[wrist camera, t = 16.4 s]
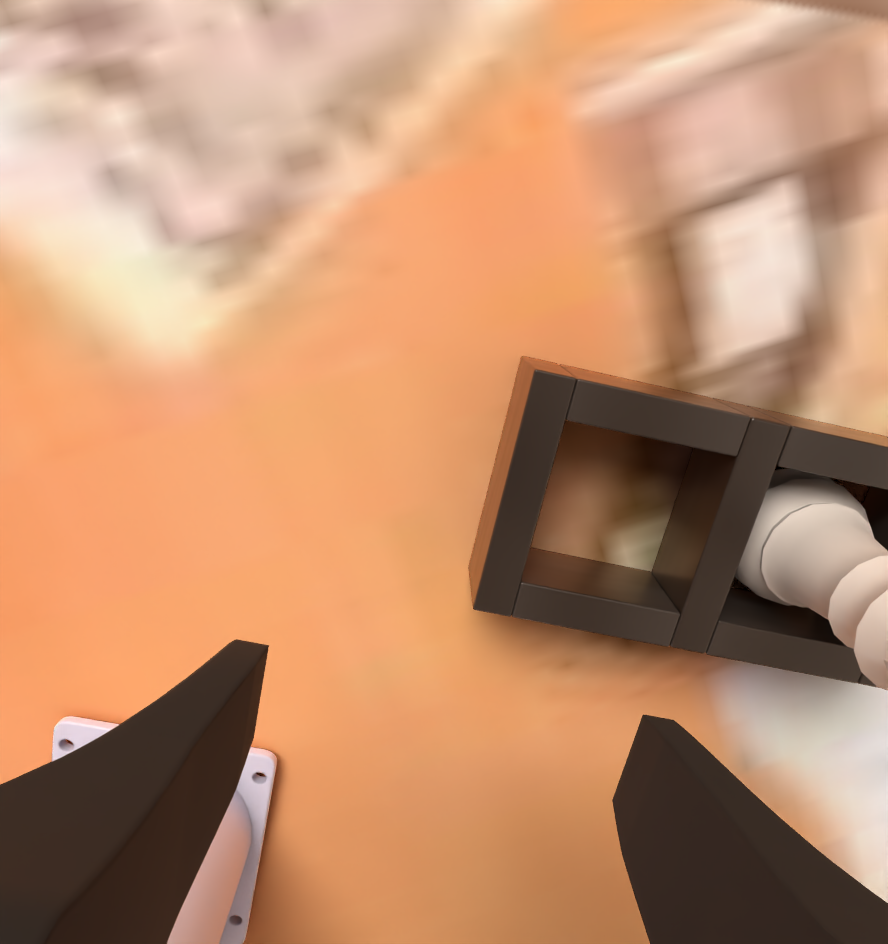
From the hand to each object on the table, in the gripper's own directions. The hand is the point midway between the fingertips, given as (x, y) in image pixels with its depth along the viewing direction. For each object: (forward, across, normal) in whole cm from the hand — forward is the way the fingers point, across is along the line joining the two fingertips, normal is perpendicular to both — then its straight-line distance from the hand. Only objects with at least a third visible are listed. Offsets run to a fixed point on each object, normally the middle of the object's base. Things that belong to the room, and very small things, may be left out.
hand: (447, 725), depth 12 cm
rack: (+10, -8, -2) cm, 13 cm away
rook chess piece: (+11, -11, -2) cm, 16 cm away
